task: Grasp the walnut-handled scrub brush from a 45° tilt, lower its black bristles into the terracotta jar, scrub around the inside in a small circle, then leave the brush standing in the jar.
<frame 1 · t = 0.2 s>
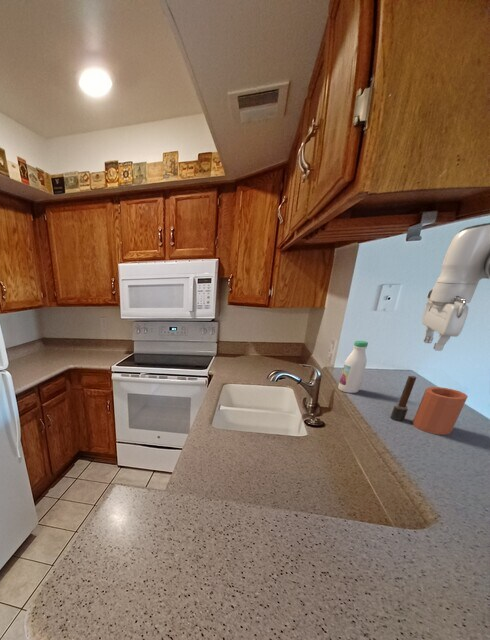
hand: (432, 346, 95), 26 cm above the worktop, tool pointing down, fingers open, 8 cm apart
milk bottle: (347, 390, 137), on the worktop
jar: (431, 427, 107), on the worktop
brush: (397, 418, 112), on the worktop
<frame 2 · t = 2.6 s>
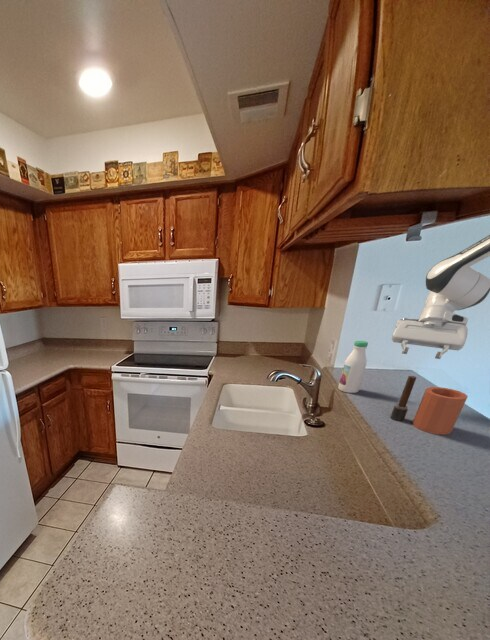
hand: (420, 355, 111), 19 cm above the worktop, tool tilted 45°, fingers open, 8 cm apart
nothing on the worktop moved.
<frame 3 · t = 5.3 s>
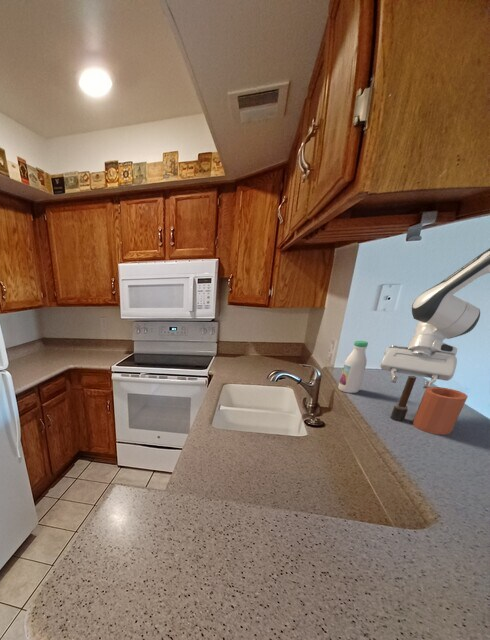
hand: (409, 384, 109), 11 cm above the worktop, tool tilted 45°, fingers open, 8 cm apart
nothing on the worktop moved.
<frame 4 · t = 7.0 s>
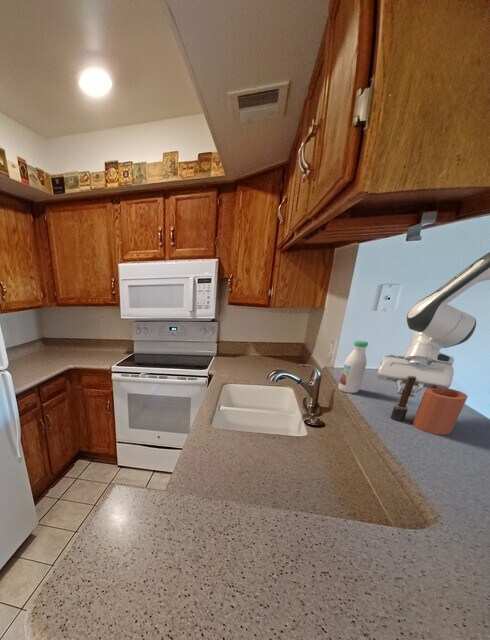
hand: (405, 394, 108), 9 cm above the worktop, tool tilted 45°, fingers closed on brush, 2 cm apart
brush: (397, 418, 112), on the worktop, touching gripper
everything else where it was.
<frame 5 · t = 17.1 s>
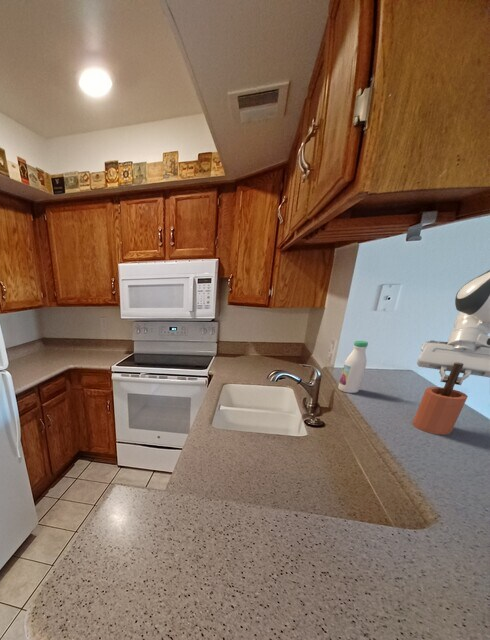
hand: (450, 382, 100), 15 cm above the worktop, tool tilted 45°, fingers closed on brush, 2 cm apart
brush: (439, 408, 105), point 6 cm above the worktop, touching gripper
everything else where it was.
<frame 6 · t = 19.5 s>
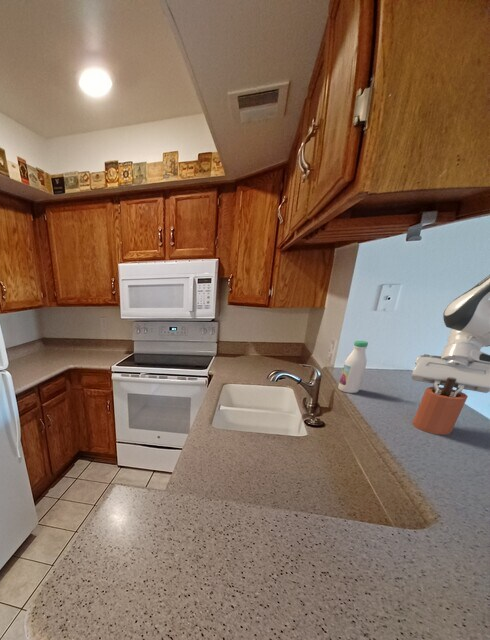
hand: (444, 397, 101), 11 cm above the worktop, tool tilted 45°, fingers closed on brush, 2 cm apart
brush: (432, 422, 106), point 2 cm above the worktop, touching gripper
everything else where it was.
when the fingers open (13 cm above the worktop, at t = 27.6 s): brush drops 3 cm, resting on jar.
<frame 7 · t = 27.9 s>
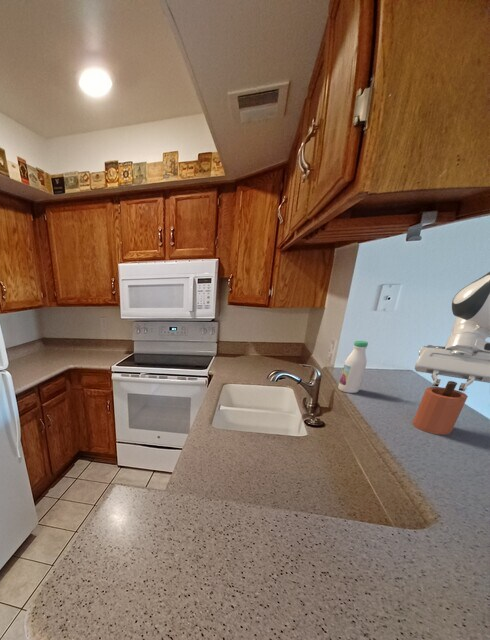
hand: (448, 387, 100), 14 cm above the worktop, tool tilted 45°, fingers open, 5 cm apart
brush: (432, 424, 106), point 1 cm above the worktop, tilted 8°, touching jar
everything else where it was.
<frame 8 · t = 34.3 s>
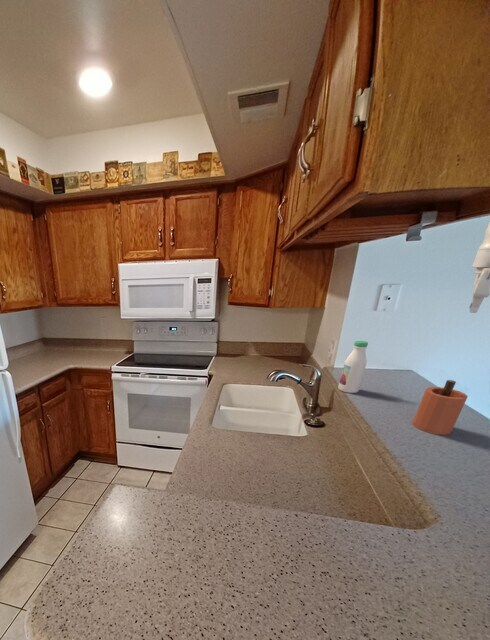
hand: (472, 310, 102), 34 cm above the worktop, tool pointing down, fingers open, 8 cm apart
brush: (432, 425, 106), point 1 cm above the worktop, touching jar
everything else where it was.
at the end: brush inside the target area in the jar (0.2 cm from its centre), point 0.8 cm above the jar's base; the gripper is holding nothing; brush moved 9.7 cm from its start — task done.
